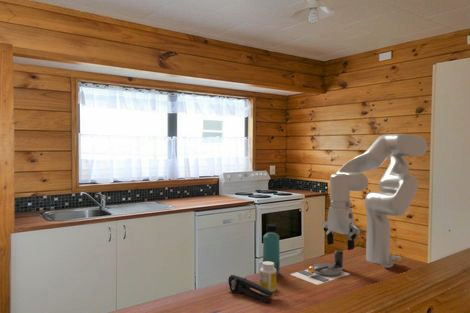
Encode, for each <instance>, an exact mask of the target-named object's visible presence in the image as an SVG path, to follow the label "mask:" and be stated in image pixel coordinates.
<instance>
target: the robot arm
mask: <svg viewBox="0 0 470 313" xmlns="http://www.w3.org/2000/svg"><path fill="white" fill-rule="evenodd" d="M427 150H428V143H427V141H426V139H425V138H424V137H423V136H419V135H413V134H412V135H411V134H408V133H407V134H406V133H385V134H381V135H379V136H378V137H377V138H376V139H375V140H374V141H373V143H372V144H371V145H370V146H369V147H368V148H367V149H366V151H365V152H363V153H362V154H359V155H358V156H355V157H354V158H352V159H350V160H348V161H347V162H345V163H344V164H343V165H342V166H341V167H340V168H339V169H338V171H336V173H332V174H331V175H330V177H329V204H330V205H329V208H328V210H327V220H326V221H323V222H322V223H321V225H322V228H323V231H324V232H325V235H326V242H327V245H328V246H330V245H333V244H334V233H337V234H342V235H346V238H348V240H347V250H348V251H351V250H354V249H355V240H356V238H358V236H359V235H360V233H361V229H359V227H357V226H356V225H355V220H354V218H355V217H354V213H353V209H352V208H351V207H353V203H351V200H350V198H351V194H350V193H351V192H361V191H364V190H366V189H367V187H368V186H369V178H368V177H367V175H365V174H364V173H363V172H369V171H372V170H375V169H378V168H380V167H382V165H383V164H384V162H385V161H386V160H387V159H388V157H389V163H388V166H387V168H386V170H385V171H384V173H383V175H382V177H381V178H380V180H379V182H378V189H379V191H378V190H375V191H374V190H373V191H370V192H369V193H367V194H366V195H365V198H364V208H365V214H366V236H365V237H366V240H365V241H366V242H365V243H366V245H365V249H366V250H365V254H366V255H365V260H366V261H367V262H369V263H371V264H377V265H379V266H381V267H382V268H383V269H390V268H393V267H394V261H396V262H397V261H399V262H401V261H402V257H401V256H400V255H395V254H391V253H390V251H391V250H390V248H391V222H390V219H389V217H388V216H390V217H395V218H396V217H397V218H398V217H402V216H404V215H405V214H406V212H407V211H408V209H409V208H410V206H411V204H412V202H413V200H414V199H415V196H416V194H417V192H418V189H419V182H418V179H417V178H416V177H415V176H414V175H412V174H409V170H410V167H409V164H408V162H407V159H406V158H405V157H420V156H423V155H425V153H426V152H427Z"/></svg>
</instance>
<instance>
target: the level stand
mask: <svg viewBox="0 0 470 313" xmlns="http://www.w3.org/2000/svg"><path fill="white" fill-rule="evenodd" d="M289 275H290V276H293V277H296V278H298V279H301V280H303V281H306V282H308V283H311V284H314V285H316V286H318V285H321V284H325V283H327V282H331V281H334V280H336V279H339V278H342V277H346V276H348V275H351V273H350V272H346V271H344V270H342V274H341V275H338V276H324V275H320V274H317V273H315V272H314V273H313V274H311V273H309V272H308V268H307V269H304V270H299V271H297V272H293V273H290V274H289Z"/></svg>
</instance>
